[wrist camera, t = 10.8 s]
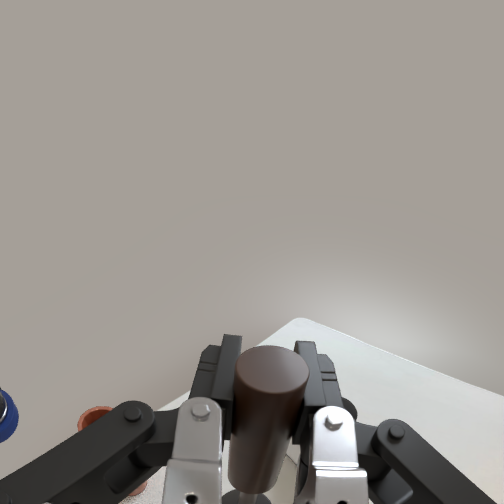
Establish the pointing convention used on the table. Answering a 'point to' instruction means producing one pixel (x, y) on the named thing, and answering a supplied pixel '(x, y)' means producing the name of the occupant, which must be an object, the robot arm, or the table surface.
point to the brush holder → (92, 416)
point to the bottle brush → (263, 419)
